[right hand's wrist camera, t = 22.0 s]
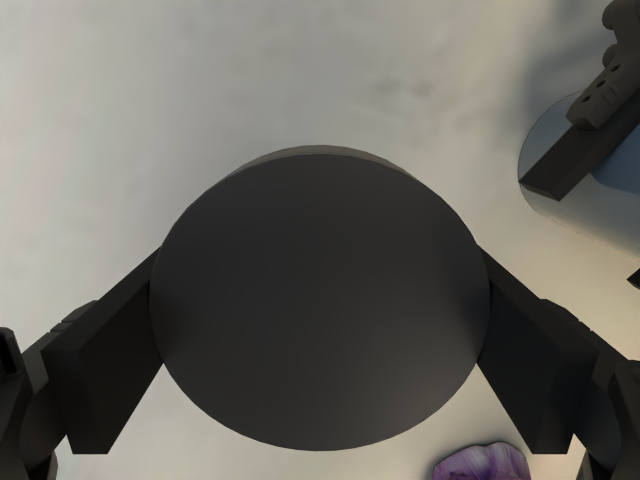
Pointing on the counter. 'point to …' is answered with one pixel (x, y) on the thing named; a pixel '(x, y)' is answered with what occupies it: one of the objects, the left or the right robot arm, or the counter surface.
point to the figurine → (484, 464)
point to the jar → (591, 186)
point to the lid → (319, 300)
